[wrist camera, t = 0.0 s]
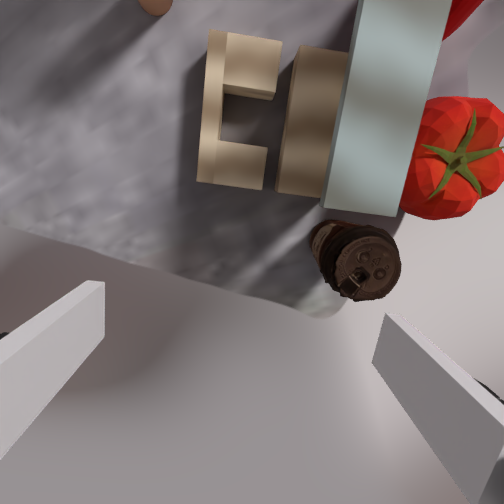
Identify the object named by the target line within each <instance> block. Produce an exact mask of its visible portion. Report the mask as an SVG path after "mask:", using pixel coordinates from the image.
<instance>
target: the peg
mask: <svg viewBox="0 0 504 504" xmlns="http://www.w3.org/2000/svg"><path fill="white" fill-rule="evenodd" d="M138 1H139V3H140V5H141V6H142V8H143V9H144V10H145V11H146V12H147V13H149V14H151V15H154V16H160V15H163V14H165V13H166V12H168V10H169V9H170V7H171V5H172V2H173V0H138Z"/></svg>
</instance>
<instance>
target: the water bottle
mask: <svg viewBox="0 0 504 504" xmlns="http://www.w3.org/2000/svg"><path fill="white" fill-rule="evenodd" d="M483 1H484V0H452V3H451V7H450V11H449V15H448V19H447V23H446V26H445V30H444V34H443V38H442V41H443V40H444V39H446V38H447V37H448V36H450V35H451V34H452V33H453V32H454V31H455V30H457V29H458V28H459V27H460V26H461V25H462V24H463V23H464V21H465V20H466V19H467V18H468V17H469V16H470V15H471V14H472V13H473V12H474V10H475V9H476V8H477V7H478V6H479V5H480V4H481V3H482V2H483Z"/></svg>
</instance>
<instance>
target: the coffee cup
mask: <svg viewBox="0 0 504 504" xmlns="http://www.w3.org/2000/svg"><path fill="white" fill-rule="evenodd" d="M309 244H310V248H311V250H312V253H313V255H314V258H315V260H316V262H317V264H318V266H319V268H320V272H321V273H322V274H323V277H324V279H325V283H329V284H330V286H331V287H332V289H333V290H334V291H337V292H339V293H340V296H342V297H348V298H350V299H353V301H354V302H359V301H365V300H375V299H380V298H383V297H385V296H386V295H387V294H388V293H389V292H390V291H391V290H392V289H393V287H394V286H395V285H396V283H397V281H398V279H399V277H400V273H401V261H400V257H399V251H398V248H397V245H396V243H395V241H394V239H393V238H392V237H391V236H390V234H389V233H388V232H386V231H385V230H383V229H380V228H376V227H374V226H370V225H366V226H363V225H358V224H354V223H349V222H345V221H339V220H324V221H322V222H321V223H319V224H318V225H317V226H316V227H315V228H314V229H313V231H312V233H311V236H310V240H309Z"/></svg>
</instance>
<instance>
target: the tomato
mask: <svg viewBox="0 0 504 504" xmlns="http://www.w3.org/2000/svg"><path fill="white" fill-rule="evenodd" d="M503 137H504V114H503V113H502V112H501V111H500V110H499V109H498V108H497V107H496V106H495V105H494V104H493V103H491V102H490V101H489V100H488V99H487V98H484V99H483V98H469V97H459V96H453V97H437V98H433V99H430V100H428V101H426V103H425V107H424V111H423V115H422V118H421V122H420V126H419V130H418V134H417V138H416V141H415V145H414V149H413V153H412V157H411V161H410V164H409V168H408V172H407V176H406V180H405V184H404V187H403V191H402V195H401V199H400V203H399V207H400V208H401V209H402V210H403V211H405V212H406V213H408V214H411V215H414V216H418V217H421V218H423V219H428V220H440V219H447V218H454V217H461V216H463V215H464V214H466V213H467V212H469V211H470V210H471V209H472V207H473V206H474V205H475V203H476V202H477V200H478V199H482V198H483V197H486V196H488V195H491V194H493V193H494V192H496V190H497V189H498V187H499V186H500V185H501V184H502V182H503V181H504V153H503V151H502V150H501V149H502V148H504V147H499V144H500V142H501V140H502V139H503Z"/></svg>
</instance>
